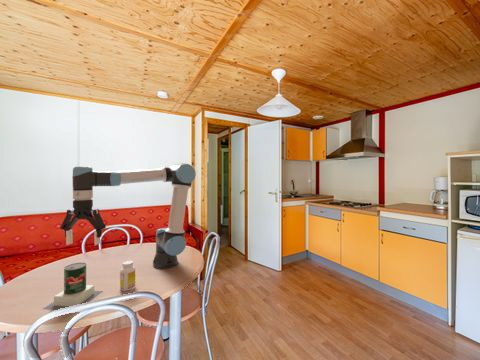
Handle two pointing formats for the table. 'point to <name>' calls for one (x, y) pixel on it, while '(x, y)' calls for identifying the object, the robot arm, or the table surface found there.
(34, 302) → the table surface
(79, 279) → the canned tomato
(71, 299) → the cream base block
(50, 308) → the grey flat square
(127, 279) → the supplement bottle
